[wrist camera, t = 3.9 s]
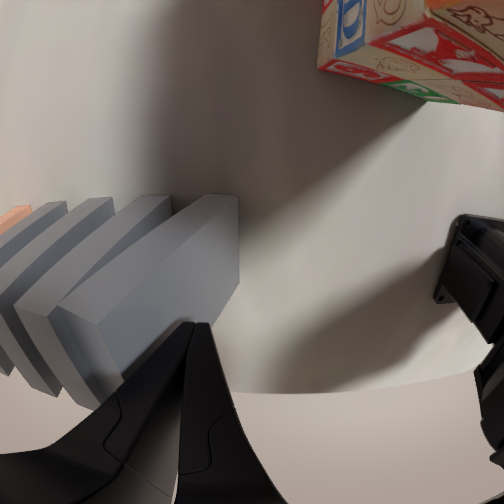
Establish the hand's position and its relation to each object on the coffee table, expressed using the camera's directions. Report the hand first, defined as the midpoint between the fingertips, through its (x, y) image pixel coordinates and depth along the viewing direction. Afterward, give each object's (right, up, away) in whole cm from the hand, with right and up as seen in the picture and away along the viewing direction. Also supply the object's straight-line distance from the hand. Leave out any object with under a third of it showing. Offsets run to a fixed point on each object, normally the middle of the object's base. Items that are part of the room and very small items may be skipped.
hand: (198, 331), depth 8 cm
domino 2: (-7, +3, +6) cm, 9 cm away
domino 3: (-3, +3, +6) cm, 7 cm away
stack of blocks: (+9, +20, -3) cm, 22 cm away
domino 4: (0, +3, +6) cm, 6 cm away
